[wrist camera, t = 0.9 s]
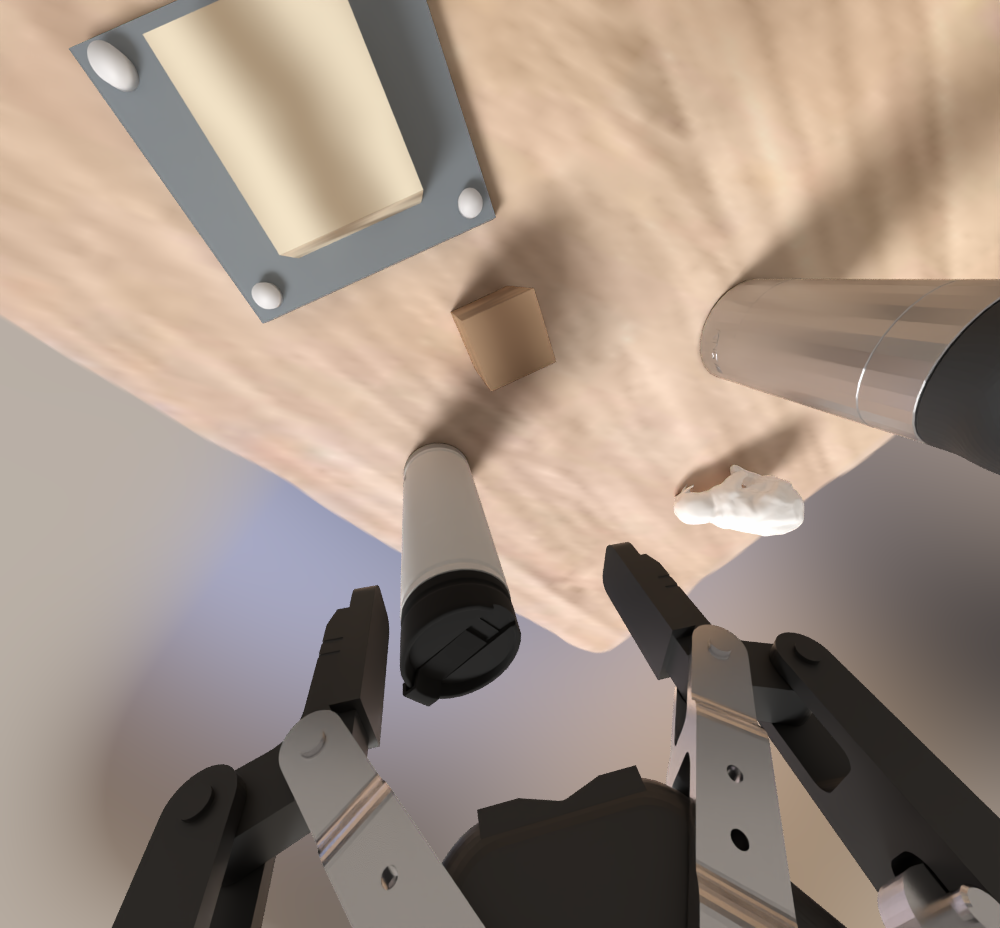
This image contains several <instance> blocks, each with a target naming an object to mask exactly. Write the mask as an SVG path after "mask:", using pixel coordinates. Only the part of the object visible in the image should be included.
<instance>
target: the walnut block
mask: <svg viewBox="0 0 1000 928" xmlns="http://www.w3.org/2000/svg"><path fill="white" fill-rule="evenodd" d="M451 314H452V316H453V319H454V321H455V323H456V326H457V328H458V330H459V333H460V335H461V337H462V340H463V342H464V344H465V347H466V349H467V351H468V354H469V356H470V358H471V361H472V363H473V365H474V368H475V370H476V371H477V373H478V374H479V375H480V377H481V378H482V379H483V381H484V382H485V384H486V385H487V386H488V388H489V389H490V390H491V392H492V391H494V390H496V389H498V388H501V387H503V386H505V385H507V384H509V383H511V382H514V381H516V380H518V379H520V378H522V377H524V376H527V375H529V374H531V373H533V372H535V371H537V370H540V369H542V368H544V367H546V366H548V365H550V364H553V363H555V362H556V360H555V357H554V353H553V350H552V347H551V343H550V340H549V337H548V333H547V330H546V327H545V323H544V320H543V317H542V313H541V310H540V307H539V303H538V300H537V297H536V293H535V290H534V288H526V287H514V286H506V287H504V288H502V289H500V290H498V291H495V292H493V293H491V294H489V295H487V296H485V297H482V298H480V299H478V300H476V301H474V302H471V303H469V304H467V305H465V306H463V307H461V308H458V309H456V310H454V311H452V312H451Z"/></svg>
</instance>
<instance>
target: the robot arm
mask: <svg viewBox="0 0 1000 928" xmlns="http://www.w3.org/2000/svg"><path fill="white" fill-rule="evenodd" d="M700 354H701V359H702V362H703V364H704V366H705V368H706V369H707V370H708V371H709V372H710V373H711V374H713V375H714V376H716V377H719V378H722V379H725V380H728V381H731V382H734V383H737V384H741V385H744V386H747V387H749V388H752V389H755V390H758V391H762V392H765V393H768V394H771V395H774V396H777V397H780V398H783V399H786V400H789V401H793V402H796V403H799V404H802V405H805V406H808V407H811V408H814V409H817V410H821V411H824V412H827V413H830V414H833V415H836V416H839V417H842V418H845V419H848V420H852V421H855V422H858V423H861V424H864V425H867V426H870V427H874V428H877V429H880V430H883V431H886V432H889V433H893V434H896V435H899V436H902V437H905V438H908V439H911V440H914V441H917V442H921V443H924V444H927V445H930V446H933V447H936V448H939V449H943V450H946V451H948V452H951V453H954V454H957V455H959V456H961V457H963V458H965V459H967V460H968V461H970V462H972V463H974V464H976V465H978V466H980V467H982V468H984V469H987V470H989V471H991V472H994V473H996V474H999V475H1000V279H752V280H747V281H745V282H742V283H740V284H738V285H736V286H735V287H734V288H732V289H731V290H729V291H728V292H727V293H726V294H725V295H724V296H723V297H722V298H721V299H720V300H719V301H718V302H717V304H716V305H715V306H714V308H713V309H712V311H711V313H710V314H709V316H708V318H707V320H706V322H705V325H704V328H703V331H702V335H701V340H700ZM603 584H604V587H605V590H606V593H607V594H608V596H609V598H610V599H611V601H612V603H613V605H614V606H615V608H616V610H617V611H618V613H619V615H620V616H621V618H622V620H623V621H624V623H625V625H626V627H627V628H628V630H629V632H630V633H631V635H632V637H633V638H634V640H635V642H636V643H637V645H638V647H639V649H640V650H641V652H642V654H643V655H644V657H645V659H646V660H647V662H648V664H649V665H650V667H651V669H652V671H653V672H654V674H655V675H656V677H657V679H658V680H660V679H664V678H669V677H671V679H672V680H673V682H674V684H675V689H674V702H673V722H672V738H671V739H672V740H671V753H670V760H669V766H668V771H667V778H666V784H663V783H661V782H658V781H655V780H651V779H646V778H641V776H640V774H639V772H638V769H637V767H636V765H635V766H632V767H628V768H625V769H621V770H617V771H614V772H610V773H606V774H603V775H599V776H598V777H596V778H595V779H594V780H592V781H591V782H589V783H588V784H587V785H586V786H584V787H583V788H581V789H580V790H578V791H577V792H575V793H574V794H573V795H571V796H570V797H569V798H567V799H565V800H563V801H552V800H551V801H550V800H536V799H521V798H518V799H514V800H511V801H507V802H503V803H500V804H496V805H493V806H489V807H486V808H483V809H479V810H477V811H478V820H479V823H477V824H476V825H474V826H473V827H472V828H470V829H469V830H468V831H467V832H466V833H465V834H464V835H463V836H462V837H460V839H459V840H458V841H457V842H456V843H455V845H454V846H453V847H452V848H451V850H450V851H449V853H448V854H447V856H446V857H445V859H444V860H443V862H442V863H441V862H440V860H439V859H438V857H437V856H436V854H435V853H434V851H433V850H432V848H431V847H430V845H429V844H428V842H427V841H426V839H425V838H424V837H423V835H422V834H421V832H420V831H419V829H418V828H417V826H416V825H415V823H414V822H413V820H412V819H411V817H410V816H409V815H408V813H407V812H406V810H405V809H404V807H403V806H402V804H401V803H400V801H399V800H398V799H397V797H396V795H395V794H394V792H393V791H392V789H391V788H390V787H389V785H388V784H387V783H386V782H385V781H384V780H382V779H381V777H380V776H379V775H378V773H377V772H376V770H375V769H374V767H373V766H372V764H371V763H370V761H369V760H368V758H367V753H368V749H371V748H375V747H379V746H380V734H381V723H382V712H383V699H384V688H385V677H386V665H387V653H388V641H389V621H388V616H387V612H386V609H385V605H384V601H383V598H382V595H381V591H380V588H379V586H378V585H376V586H370V587H364V588H359V589H354V590H353V593H352V597H351V602H350V607H348V608H343V609H338V610H337V611H336V612H335V614H334V615H333V617H332V618H331V619H330V621H329V623H328V624H327V626H326V630H325V634H324V638H323V644H322V645H321V649H320V652H319V658H318V660H317V664H316V667H315V671H314V675H313V679H312V682H311V686H310V690H309V694H308V697H307V701H306V705H305V709H304V712H303V715H302V717H301V719H300V721H299V722H298V723H296V724H295V725H294V726H293V728H292V729H291V730H290V731H289V733H288V734H287V735H286V737H285V739H284V741H283V742H282V743H281V744H279V745H278V746H276V747H275V748H274V749H272V750H270V751H269V752H267V753H265V754H264V755H262V756H260V757H258V758H256V759H255V760H253V761H251V762H249V763H247V764H246V765H244V766H242V767H240V768H238V769H237V770H235V771H234V769H233V768H232V767H230V766H228V765H224V764H223V765H214V766H211V767H208V768H206V769H204V770H202V771H200V772H199V773H197V774H195V775H194V776H193V777H191V778H190V779H189V780H188V781H186V782H185V783H184V784H183V785H182V786H181V787H180V788H179V789H178V790H177V791H176V793H175V794H174V795H173V796H172V798H171V799H170V800H169V802H168V803H167V805H166V806H165V808H164V810H163V812H162V814H161V816H160V818H159V820H158V823H157V825H156V827H155V829H154V832H153V834H152V836H151V839H150V841H149V843H148V846H147V848H146V850H145V852H144V855H143V857H142V859H141V862H140V864H139V866H138V869H137V871H136V873H135V875H134V878H133V880H132V882H131V885H130V888H129V890H128V892H127V894H126V896H125V899H124V901H123V903H122V906H121V908H120V910H119V912H118V915H117V917H116V920H115V922H114V924H113V926H112V928H261V926H262V921H263V916H264V911H265V906H266V902H267V897H268V891H269V887H270V882H271V877H272V872H273V867H274V862H275V858H276V855H277V854H279V853H280V852H282V851H283V850H285V849H286V848H288V847H289V846H291V845H292V844H294V843H295V842H297V841H298V840H300V839H301V838H303V837H304V836H305V835H307V834H309V833H310V832H311V834H312V836H313V838H314V840H315V842H316V845H317V847H318V853H319V857H320V859H321V862H322V864H323V866H324V869H325V871H326V873H327V875H328V877H329V879H330V882H331V883H332V885H333V888H334V890H335V892H336V894H337V896H338V899H339V901H340V903H341V905H342V907H343V909H344V911H345V913H346V916H347V918H348V920H349V922H350V924H351V926H352V928H847V927H845V926H844V925H843V924H841V923H840V922H839V921H838V920H837V919H836V918H834V917H833V916H832V915H831V914H829V913H828V912H827V911H826V910H825V909H823V908H822V907H821V906H820V905H819V904H817V903H816V902H815V901H814V900H813V899H811V898H810V897H809V896H808V895H806V894H805V893H804V892H803V891H802V890H800V889H799V888H798V887H797V886H795V885H794V884H793V883H792V882H791V881H790V876H789V869H788V863H787V856H786V850H785V843H784V836H783V829H782V823H781V816H780V809H779V803H778V796H777V789H776V783H775V776H774V770H773V763H772V756H771V749H770V743H769V738H770V739H771V741H772V742H773V743H774V745H775V746H776V748H777V749H778V750H779V752H780V753H781V755H782V756H783V758H784V759H785V761H786V762H787V763H788V765H789V766H790V767H791V769H792V771H793V772H794V773H795V775H796V776H797V778H798V779H799V781H800V782H801V783H802V785H803V786H804V788H805V789H806V790H807V792H808V793H809V795H810V796H811V798H812V799H813V800H814V802H815V803H816V805H817V806H818V808H819V809H820V810H821V812H822V813H823V815H824V816H825V817H826V819H827V820H828V822H829V823H830V825H831V826H832V828H833V829H834V830H835V832H836V833H837V835H838V836H839V837H840V839H841V840H842V842H843V843H844V845H845V846H846V847H847V849H848V850H849V852H850V853H851V855H852V856H853V857H854V859H855V860H856V862H857V863H858V864H859V866H860V867H861V869H862V870H863V872H864V873H865V875H866V876H867V877H868V878H869V880H870V882H871V883H872V884H873V886H874V887H875V889H876V890H877V892H878V907H879V912H880V915H881V918H882V921H883V923H884V925H885V928H1000V818H999V817H998V816H997V815H996V814H995V813H993V812H992V810H991V809H989V808H988V807H987V806H986V805H985V804H984V803H983V802H982V801H981V800H980V799H979V798H978V797H977V796H976V795H975V794H974V793H973V792H972V791H971V790H970V789H969V788H968V787H967V786H966V785H965V784H964V783H963V782H962V781H961V780H960V779H959V778H958V777H957V776H956V775H955V774H954V773H953V772H952V771H951V770H950V769H949V768H948V767H947V766H946V765H944V764H943V763H942V762H941V761H940V760H939V759H938V758H937V757H936V756H935V755H934V754H933V753H932V752H931V751H930V750H929V749H928V748H927V747H926V746H925V745H924V744H923V743H922V742H921V741H920V740H919V739H918V738H917V737H916V736H915V735H914V734H913V733H912V732H911V731H910V730H909V729H908V728H907V727H905V725H904V724H903V723H902V722H901V721H900V720H899V719H898V718H897V717H895V716H894V715H893V714H892V713H891V712H890V711H889V710H888V709H887V708H886V707H885V706H884V705H883V704H882V703H881V702H880V701H879V700H878V699H877V698H876V697H875V696H874V695H873V694H872V693H871V692H870V691H869V690H868V689H867V688H866V687H865V686H864V685H863V684H862V683H861V682H860V681H859V680H858V679H857V678H856V677H855V676H854V675H852V673H850V671H848V670H847V669H846V668H845V667H844V666H843V665H842V664H841V663H840V662H839V661H838V660H837V659H836V658H835V657H834V656H833V655H832V654H831V653H830V652H829V651H828V650H827V649H826V648H825V647H823V646H822V645H821V644H819V643H818V642H816V641H815V640H812V639H811V638H809V637H806V636H804V635H801V634H797V633H789V632H788V633H782V634H780V635H778V636H777V638H776V640H775V642H774V644H768V643H758V642H749V641H742V640H740V639H738V638H737V637H736V636H735V635H734V634H733V633H731V632H729V631H728V630H726V629H724V628H722V627H719V626H715V625H711V624H710V622H709V621H708V620H707V619H706V618H705V617H704V615H702V613H701V612H700V611H699V610H698V608H697V607H696V606H695V605H694V604H693V602H692V601H691V600H690V599H689V598H688V596H687V595H686V594H685V593H684V592H683V590H682V589H681V588H680V587H678V586H677V583H676V582H675V581H674V580H673V578H672V577H670V576H669V574H668V572H667V571H666V570H665V569H664V568H663V566H662V565H661V564H660V563H659V562H657V561H656V560H654V559H653V558H651V557H650V556H648V555H647V554H643V555H640V554H639V553H638V552H637V550H636V549H635V548H634V547H633V545H632V544H631V543H629V542H625V543H619V544H614V545H608V546H607V548H606V554H605V562H604V569H603ZM757 721H758V722H759V724H760V725H761V726H762V727H761V726H759V725H758V723H757ZM768 736H769V738H768Z"/></svg>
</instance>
